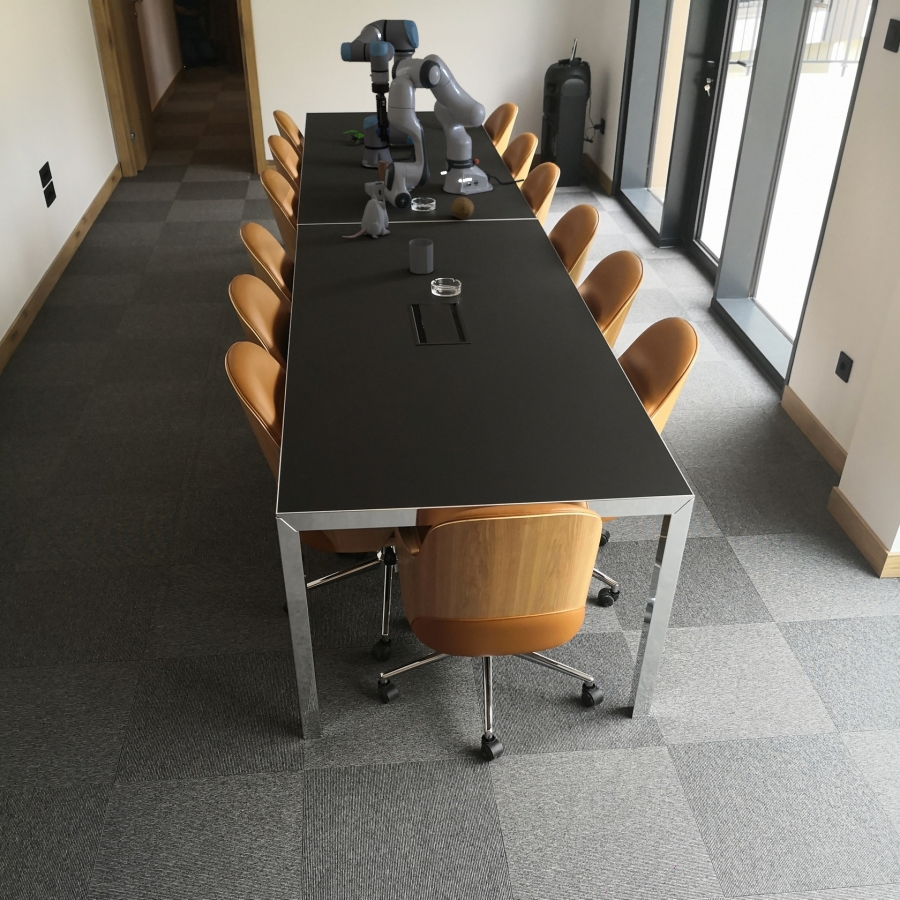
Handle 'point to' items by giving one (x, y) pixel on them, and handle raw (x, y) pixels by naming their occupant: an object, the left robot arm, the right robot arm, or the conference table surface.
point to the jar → (382, 169)
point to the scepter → (355, 137)
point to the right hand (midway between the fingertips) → (383, 181)
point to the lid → (379, 131)
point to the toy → (374, 219)
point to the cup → (421, 256)
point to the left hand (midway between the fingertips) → (382, 139)
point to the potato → (462, 208)
